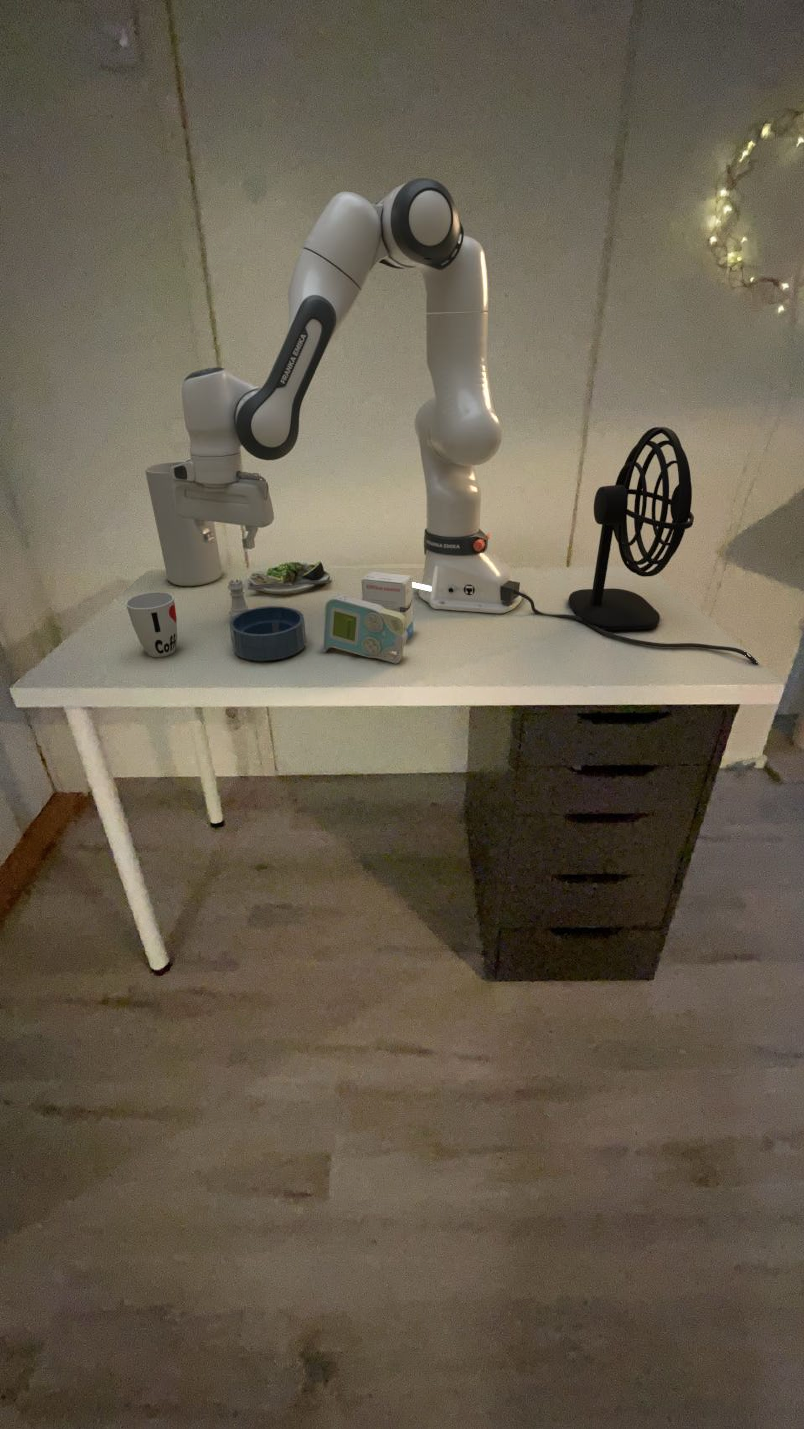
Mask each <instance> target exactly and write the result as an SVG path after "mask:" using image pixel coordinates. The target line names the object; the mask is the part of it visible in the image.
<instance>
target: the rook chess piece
mask: <svg viewBox="0 0 804 1429" xmlns="http://www.w3.org/2000/svg"><path fill="white" fill-rule="evenodd" d="M244 587H245V584H244V583H243V580H241V579H235V580H234V579H231V580H229V581H228V586H227V588H228V590H229V591H230V593H229V595H230V596H231V597H230V598H231V608H230V611H229V616H230V617H229V621H230V620H231V619H232V618H233V617H234V616H236V615H237V614H239V613H241V612H244V611H246V610H249V609H250V608H249V606H248V605H247V603H246V599H245V591H244Z"/></svg>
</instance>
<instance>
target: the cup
mask: <svg viewBox="0 0 804 1429" xmlns="http://www.w3.org/2000/svg"><path fill="white" fill-rule="evenodd" d="M175 604H176V603H175V597H174V595H173V594H171V593H169V592H165V591H164V592H163V591H155V592H153V591H152V592H145V593H141V594H137V595H134V596H132V597H130V598H129V599H127V600H126V601H125V606H126V609H127V612H128V616H129V619H130V622H131V625H132V627H133V631H134V632H135V634H136V636H137V639H138V641H139V643H140V645H141V647H142V648H143V649H144V651H145V653H146V654H147V655H148V656H149V657H153V658H163V657H166V656H170V655H172V654H173V653H175V652H176V649H177V644H178V643H177V642H178V618H177V610H176V605H175Z"/></svg>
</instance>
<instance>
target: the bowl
mask: <svg viewBox="0 0 804 1429" xmlns="http://www.w3.org/2000/svg"><path fill="white" fill-rule="evenodd" d="M228 624H229V626H228V627H229V632H230V638H231V639H230V640H231V645H232V651H233V652H234V653H235V655H236V656H238V657H240V658H243V659H246V660H250V661H258V662H259V661H265V662H268V661H269V662H270V661H276V660H282V659H285V658H289V657H291V656H294V655H296V654H298V653H300V652H301V651H303V649H304V648H305V647H306V645H307V633H306V622H305V616H304V614H303V613H302V612H301V611H300V610H298V609H296V608H293V607H289V606H283V605H282V606H281V605H269V606H260V607H259V606H258V607H254V608H249V610H246V611H244V612H241V613H239V614H237V615H236V616H234V617H233V618H232V619H231V620H230V619H229V622H228Z"/></svg>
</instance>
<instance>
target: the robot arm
mask: <svg viewBox="0 0 804 1429" xmlns="http://www.w3.org/2000/svg"><path fill="white" fill-rule="evenodd" d="M377 264H382V265H384V266H386V267H390V268H392V269H399V270H400V269H401V270H403V269H413V268H417V270H418V271H419V272H420V274H421V276H422V279H423V282H424V286H425V292H426V298H425V299H426V300H425V304H426V306H425V312H426V315H425V319H426V321H425V322H426V323H425V330H426V331H425V332H426V333H425V334H426V337H425V338H426V340H425V341H426V342H425V343H426V365H427V369H428V371H429V373H430V377H431V381H432V386H433V391H434V397H433V398H430V399H428V400H426V401H425V402H423V404H421V405H420V407H419V408H418V410H417V412H416V414H415V418H414V431H415V434H416V437H417V440H418V443H419V450H420V458H421V466H422V471H423V476H424V482H425V494H426V528H424V536H423V553H424V566H423V573H422V579H421V582H420V583H417V582H413V581H412V588H414V589H419V590H418V596H419V597H420V598H421V599H422V600H423V601H425V602H427V603H428V604H429V605H430V607H431V608H432V609H435V610H444V611H445V610H446V611H458V612H471V613H472V612H473V613H475V612H476V613H487V614H505V613H508V612H510V611H512V610H514V609H515V608H517V607H518V605H519V604H520V603H521V601H522V599H523V598H524V599H525V600H527V601H528V602H529V603H530V607H531V611H532V612H533V613H535V614H536V615H538V616H544V617H551V618H559V619H560V618H561V619H572V620H576V621H579V622H581V623H583V624H585V625H587V626H589V627H590V628H591V629H593V630H594V631H597V632H598V633H600V634H602V635H604V636H607V637H610V638H613V639H616V640H619V641H623V642H627V643H631V644H635V645H642V646H646V647H647V646H648V647H655V648H700V649H706V650H715V651H727V652H732V653H737V654H740V655H742V656H744V657H745V658H747V659H748V660H749V661H750V662H751V663H752V664H753V665H755V666H759V662H758V661H757V660H756V658H755V657H754V656H753V655H752V654H750V653H748V652H747V651H745V650H743V649H741V648H738V647H733V646H723V645H712V644H706V643H694V642H683V643H682V642H680V643H679V642H676V643H675V642H674V643H667V642H666V643H664V642H663V643H662V642H653V641H645V640H640V639H635V638H630V637H626V636H622V635H619V634H615V633H613V632H610V631H608V630H604V629H600V628H599V627H597V626H594V625H588V624H587V623H585V622H583V621H582V619H581V618H580V617H579V616H578V615H574V614H565V613H563V614H552V613H551V614H549V613H544V612H542V611H539V610H538V609H536V606H535V601H534V600H533V598H531V597H530V596H529V595H527V594H526V593H523V591H522V590H521V588H520V586H521V582H519V581H514V580H513V575H512V570H511V568H510V567H509V566H508V565H507V564H506V563H505V562H504V561H502V559H500V558H499V557H498V556H497V555H496V554H495V553H493V552H492V551H491V550H490V549H489V548H488V546H489V539H490V532H488V533H487V534H486V533H485V532H483V531H482V530H481V528H480V522H481V501H482V491H481V486H480V484H479V482H478V479H477V475H476V474H477V473H476V469H475V466H479V465H483V464H486V463H488V462H489V461H490V460H491V459H493V458H494V456H495V455H496V454H497V452H498V451H499V449H500V446H501V443H502V440H503V439H502V438H503V431H502V426H501V423H500V420H499V418H498V417H497V414H496V411H495V407H494V401H493V400H494V399H493V395H492V388H491V381H490V375H489V366H488V337H489V336H488V334H489V333H488V332H489V276H488V268H487V260H486V254H485V250H484V248H483V246H482V245H481V243H480V242H479V241H478V240H476V239H475V238H473V237H471V236H468V235H465V229H464V227H463V225H462V223H461V220H460V217H459V214H458V209H457V207H456V204H455V201H454V199H453V196H452V195H451V193H450V192H449V190H448V189H447V187H445V186H444V185H443V184H442V183H441V182H439V181H437V180H435V179H433V178H429V177H418V178H414V179H412V180H409V181H408V182H405V183H402V184H401V185H400V184H399V186H397V187H395V188H394V189H392V190H391V191H390V192H389V193H388V194H387V195H386V196H384V197H383V198H381V199H380V200H378V201H377V202H375V203H373V202H372V203H371V202H370V201H369V200H368V199H367V198H365V197H364V196H362V195H361V194H359V193H356V192H352V191H340V192H338V193H336V194H335V195H333V197H332V198H331V199H330V200H329V202H328V203H327V205H326V206H325V207H324V209H323V211H322V212H321V214H319V217H318V218H317V219H316V221H315V224H314V225H313V226H312V229H311V230H310V232H309V234H308V236H307V238H306V239H305V242H304V244H303V246H302V249H301V251H300V253H299V255H298V258H297V260H296V263H295V265H294V267H293V271H292V274H291V279H290V282H289V286H288V290H287V302H288V314H289V315H288V324H287V330H286V334H285V336H284V338H283V339H284V340H283V342H282V344H281V347H280V349H279V351H278V353H277V356H276V358H275V360H274V362H273V365H272V367H271V368H270V371H269V374H268V376H267V379H266V380H265V382H264V384H263V385H262V386H261V387H260V386H257V385H254V384H252V383H250V382H247V381H245V380H243V379H241V378H239V377H237V376H235V375H234V374H232V373H231V372H229V371H228V370H227V369H226V368H224V367H218V366H217V367H216V366H215V367H209V368H204V369H200V370H196V371H194V372H191V373H189V374H188V375H187V376H186V377H185V378H184V380H183V382H182V385H181V386H182V387H181V395H182V396H181V399H182V409H183V417H184V424H185V429H186V431H187V433H188V436H189V440H190V441H189V442H190V444H189V456H190V459H188V460H186V461H184V462H185V463H182V464H179V465H176V466H173V467H171V468H170V474H171V477H172V478H173V479H175V480H174V482H173V485H172V491H173V499H174V505H175V509H176V512H177V513H178V515H179V516H180V517H182V518H190V519H194V523H195V526H196V527H197V529H198V530H199V532H200V533H201V535H202V541H203V542H204V543H211V542H214V537H213V536H214V534H213V532H210V531H209V529H208V527H207V525H206V523H207V521H213V522H214V523H222V524H228V525H229V524H230V525H235V526H236V525H238V526H244V528H245V532H247V535H246V537H245V538H242V539H241V541H242V548H243V549H246V550H252V549H254V548H255V547H256V544H255V538H256V535H257V533H258V531H259V528H260V529H263V528H266V527H268V526H270V525H272V524H273V522H274V520H275V512H274V508H273V503H272V499H271V494H270V488H269V483H268V480H267V479H266V478H264V476H262V475H261V474H260V473H257V472H247V471H244V467H243V466H244V465H243V459H242V450H241V447H242V448H243V449H244V450H245V451H246V452H247V453H249V454H250V455H251V456H252V457H255V458H257V459H259V460H261V461H262V460H263V461H276V460H279V459H282V458H284V457H285V456H287V455H288V454H289V453H290V452H291V451H292V450H293V449H294V448H295V445H296V443H297V441H298V437H299V431H300V412H301V408H302V404H303V401H304V398H305V396H306V393H307V391H308V389H309V387H310V385H311V382H312V380H313V378H314V376H315V373H316V371H317V370H318V366H319V365H320V362H321V360H322V358H323V356H324V354H325V352H326V350H327V348H328V346H329V345H330V343H331V342H332V340H333V339H334V337H335V335H336V334H337V332H338V331H339V329H341V327H342V325H343V324H344V322H345V321H346V320H347V318H348V317H349V315H350V313H351V312H352V309H353V307H354V306H355V304H356V302H358V301H357V300H358V299H359V297H360V295H361V293H362V291H363V288H364V286H365V284H366V282H367V280H368V278H369V276H370V273H371V272H372V271H373V269H374V268H375V266H377ZM744 651H745V652H744ZM747 653H748V654H749V655H750V656H751V657H749V656H748V655H747ZM745 655H746V656H745ZM756 662H757V663H756Z"/></svg>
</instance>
